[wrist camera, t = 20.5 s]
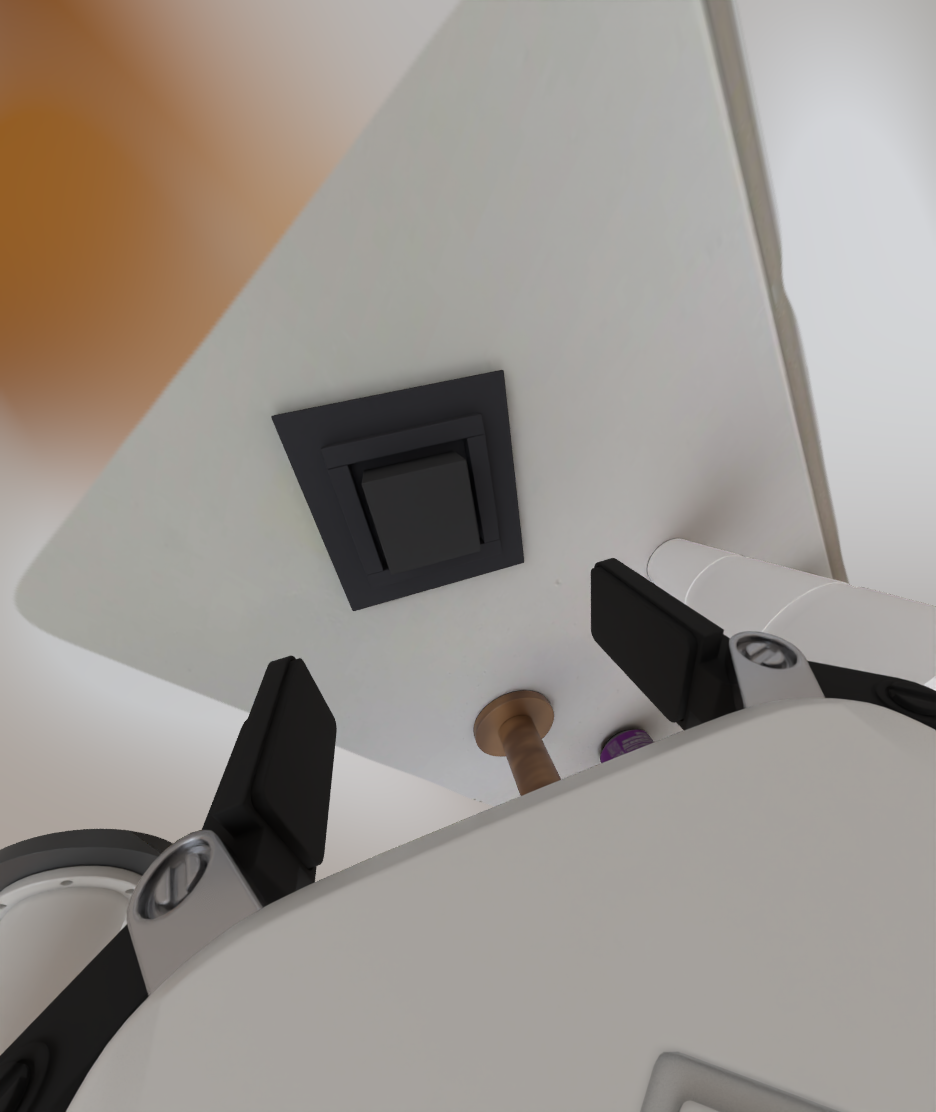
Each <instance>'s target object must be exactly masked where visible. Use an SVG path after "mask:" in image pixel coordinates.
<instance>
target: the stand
mask: <svg viewBox="0 0 936 1112" xmlns="http://www.w3.org/2000/svg"><path fill="white" fill-rule="evenodd" d="M553 720H554V713H553V709H552V707H551V705H550V703H549V702H548V700H547V699H546V698H545V697H544V696H543V695H542V694H540V693H537V692H534V691H526V690H523V691H516V692H511V693H508V694H505V695H503V696H501V697H499V698H497V699H495V700H494V701H492V702H491V703H489V704H488V705H487V706H486V707H485V708H484V709H483V710H482V711H481V712H480V714H479V715H478V717H477V719H476V721H475V724H474V736H475V740H476V743H477V745H478V747H479V748H480V749H481V750H482V751H483V752H485V753H487V754H489V755H492V756H506V757H507V760H508V762H509V765H510V768H511V771H512V773H513V776H514V779H515V782H516V784H517V787H518V790H519V793H520V795H521V796H522V795H525V794H527V793H530V792H532V791H535V790H537V789H540V788H542V787H544V786H547V785H549V784H552V783H554V782H557V781H559V780H561V778H560V776H559V774H558V772H557V770H556V768H555V766H554V764H553V762H552V760H551V758H550V756H549V754H548V751H547V749H546V747H545V745H544V743H543V741H542V739H543V738H544V737H545V735H546V734H547V733H548V731H549V730H550V728H551V726H552V724H553Z"/></svg>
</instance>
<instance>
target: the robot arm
mask: <svg viewBox="0 0 936 1112" xmlns="http://www.w3.org/2000/svg"><path fill="white" fill-rule="evenodd" d="M591 633H592V636H593V638H594V640H595V641H596V642H597V643H598V645H599V646H600V647H601V648H602V649H603V650H604V651H605V652H606V653H607V654H608V655H609V656H610V657H611V659H612V660H613V661H614V662H615V663H616V664H617V665H618V666H619V667H620V668H621V669H622V670H623V671H624V673H625V674H626V675H627V676H628V677H629V678H630V679H631V680H632V681H633V682H634V683H635V684H636V685H637V687H638V688H639V689H640V690H641V691H642V692H643V693H644V694H645V695H646V696H647V697H648V698H649V699H650V701H651V702H652V703H653V704H654V705H655V706H656V707H657V708H658V709H659V710H660V711H661V712H662V713H663V715H664V716H665V717H666V718H667V719H668V720H669V721H671V722H677V724H678V725H679V726H680V727H681V728H682V729H683V730H684V731H682V732H679V733H676V734H674V735H671V736H669V737H666V738H664V739H661V740H659V741H656V742H654V743H651V744H649V745H646V746H644V747H641V748H639V749H636V750H634V751H631V752H629V753H626V754H624V755H621V756H619V757H616V758H614V759H611V760H609V761H606V762H604V763H601V764H599V765H596V766H594V767H591V768H589V769H586V770H584V771H581V772H579V773H577V774H574V775H572V776H569V777H567V778H564V779H562V780H559V781H557V782H554V783H552V784H549V785H547V786H544V787H542V788H540V789H537V790H535V791H532V792H530V793H527V794H525V795H522V796H520V797H517V798H515V799H513V800H510V801H508V802H505V803H503V804H500V805H498V806H495V807H493V808H491V809H488V810H486V811H483V812H481V813H478V814H476V815H474V816H471V817H469V818H466V819H464V820H461V821H459V822H456V823H454V824H452V825H449V826H447V827H444V828H442V829H439V830H437V831H435V832H432V833H430V834H427V835H425V836H422V837H420V838H418V839H415V840H413V841H411V842H408V843H406V844H403V845H401V846H398V847H396V848H393V849H391V850H389V851H386V852H384V853H381V854H379V855H377V856H374V857H372V858H370V859H367V860H365V861H363V862H360V863H358V864H356V865H354V866H352V867H349V868H347V869H345V870H342V871H340V872H337V873H335V874H333V875H331V876H328V877H326V878H324V879H321V880H319V881H317V882H315V874H316V866H317V865H320V864H321V863H322V861H323V857H324V850H325V840H326V830H327V820H328V810H329V801H330V789H331V780H332V771H333V761H334V751H335V741H336V729H337V728H336V721H335V718H334V716H333V714H332V713H331V711H330V709H329V707H328V705H327V703H326V702H325V700H324V698H323V696H322V694H321V692H320V691H319V689H318V687H317V685H316V683H315V681H314V680H313V678H312V676H311V674H310V672H309V670H308V669H307V667H306V665H305V663H304V661H303V660H302V659H301V658H299V659H296V658H295V657H294V656H288V657H285V658H282V659H278V660H275V661H272V662H270V663H269V665H268V667H267V670H266V672H265V675H264V677H263V680H262V683H261V685H260V688H259V691H258V693H257V696H256V698H255V701H254V704H253V706H252V709H251V712H250V714H249V717H248V719H247V720H246V721H245V722H244V724H243V726H242V728H241V730H240V733H239V736H238V738H237V741H236V743H235V746H234V748H233V751H232V754H231V757H230V759H229V761H228V764H227V766H226V769H225V772H224V774H223V777H222V779H221V782H220V785H219V787H218V790H217V792H216V795H215V797H214V800H213V802H212V805H211V808H210V810H209V813H208V815H207V818H206V820H205V823H204V826H203V828H202V830H199V831H196V832H192V833H190V834H188V835H186V836H184V837H183V838H181V839H179V840H177V841H176V842H175V843H174V844H172V845H171V846H170V847H168V848H167V849H166V850H165V851H164V852H163V853H162V854H161V855H160V856H159V857H158V858H157V859H156V860H155V861H154V862H153V863H152V864H151V865H150V867H149V868H148V869H147V871H146V872H145V873H144V875H143V876H142V875H140V874H138V873H136V872H133V871H130V870H127V869H123V868H118V867H111V866H99V865H85V866H71V867H62V868H57V869H52V870H47V871H43V872H40V873H37V874H33V875H30V876H28V877H25V878H23V879H21V880H18V881H16V882H14V883H13V884H11V885H9V886H7V887H6V888H4V889H3V890H2V891H1V892H0V1112H936V691H935V690H933V689H931V688H929V687H926V686H924V685H921V684H918V683H916V682H913V681H909V680H905V679H901V678H896V677H891V676H886V675H880V674H875V673H870V672H865V671H859V670H854V669H849V668H844V667H838V666H833V665H828V664H822V663H817V662H812V661H807V660H806V658H805V656H804V655H803V653H802V652H801V651H800V650H799V649H798V648H797V647H796V646H794V645H793V644H792V643H790V642H788V641H786V640H784V639H782V638H780V637H777V636H774V635H772V634H768V633H763V632H756V631H745V632H739V633H737V634H735V635H733V636H732V637H731V638H729V637H727V636H726V635H724V634H723V633H724V629H722V628H721V627H719V626H718V625H716V624H715V623H713V622H712V621H710V620H709V619H707V618H705V617H704V616H702V615H701V614H699V613H698V612H696V611H695V610H693V609H692V608H690V607H689V606H687V605H686V604H684V603H682V602H681V601H679V600H678V599H676V598H675V597H673V596H672V595H670V594H669V593H667V592H666V591H664V590H663V589H661V588H660V587H658V586H656V585H655V584H653V583H652V582H650V581H649V580H647V579H646V578H644V577H643V576H641V575H640V574H638V573H637V572H635V571H634V570H632V569H630V568H629V567H627V566H626V565H624V564H623V563H621V562H620V561H618V560H617V559H615V558H611V559H607V560H604V561H601V562H597V563H596V564H595V566H594V568H593V569H592V570H591Z"/></svg>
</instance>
